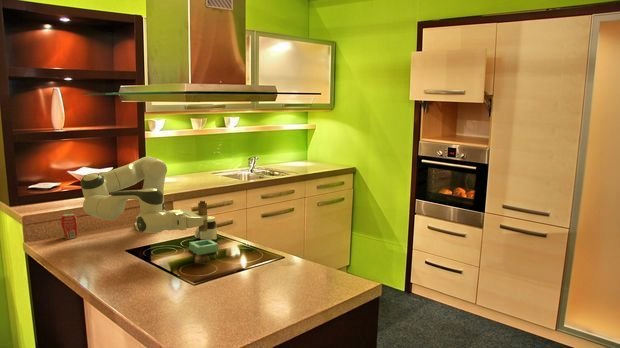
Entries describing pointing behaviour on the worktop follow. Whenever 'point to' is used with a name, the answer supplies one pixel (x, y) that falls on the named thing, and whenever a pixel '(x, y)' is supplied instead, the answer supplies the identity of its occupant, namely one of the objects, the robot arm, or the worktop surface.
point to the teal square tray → (203, 246)
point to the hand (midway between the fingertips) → (204, 215)
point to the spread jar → (211, 231)
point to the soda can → (69, 226)
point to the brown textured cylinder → (202, 211)
